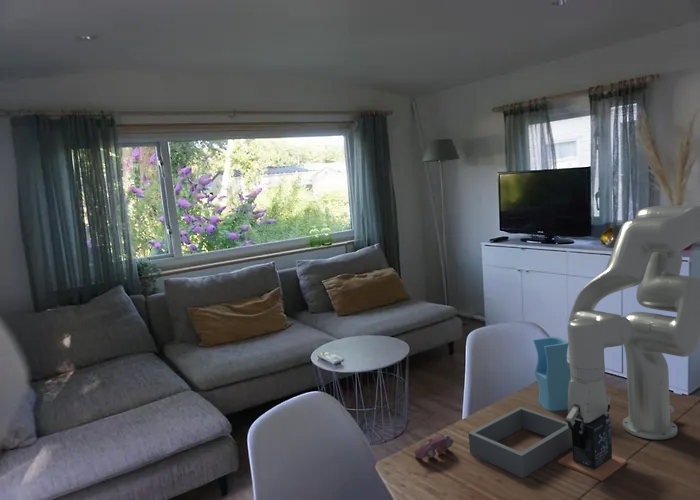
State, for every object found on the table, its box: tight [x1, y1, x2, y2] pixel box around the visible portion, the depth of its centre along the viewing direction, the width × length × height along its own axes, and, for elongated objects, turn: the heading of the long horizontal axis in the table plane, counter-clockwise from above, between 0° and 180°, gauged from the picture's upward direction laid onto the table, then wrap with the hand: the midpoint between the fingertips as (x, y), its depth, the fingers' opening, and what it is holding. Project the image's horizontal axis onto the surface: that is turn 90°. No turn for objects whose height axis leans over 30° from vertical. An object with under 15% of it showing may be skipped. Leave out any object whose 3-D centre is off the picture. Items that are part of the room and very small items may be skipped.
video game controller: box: [414, 433, 454, 460], centre depth 133 cm, size 10×5×7 cm, turn 118°
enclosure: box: [468, 406, 573, 479], centre depth 132 cm, size 21×16×6 cm
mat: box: [557, 450, 628, 481], centre depth 123 cm, size 11×11×1 cm
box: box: [572, 415, 613, 470], centre depth 122 cm, size 8×6×11 cm
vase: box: [532, 336, 571, 412], centre depth 154 cm, size 8×8×20 cm
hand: (590, 439), depth 122 cm, fingers open, 9 cm apart
